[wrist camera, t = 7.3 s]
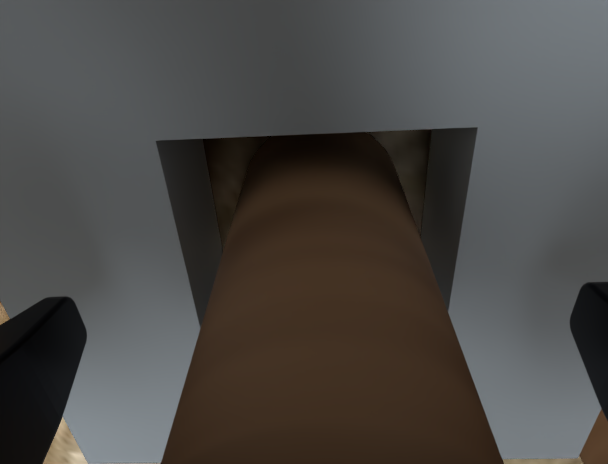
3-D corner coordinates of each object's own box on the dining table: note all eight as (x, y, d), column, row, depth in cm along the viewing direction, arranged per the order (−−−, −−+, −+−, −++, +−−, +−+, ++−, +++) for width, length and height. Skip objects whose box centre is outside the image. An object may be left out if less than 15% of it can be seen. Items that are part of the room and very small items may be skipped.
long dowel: (394, 255, 13) (485, 607, 6) (253, 260, 13) (187, 606, 6) (403, 116, 11) (564, 419, 4) (233, 124, 11) (101, 428, 4)
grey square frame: (533, 372, 15) (578, 458, 13) (124, 380, 16) (88, 463, 13) (716, -187, 8) (916, -252, 5) (-77, -131, 8) (-252, -166, 6)
